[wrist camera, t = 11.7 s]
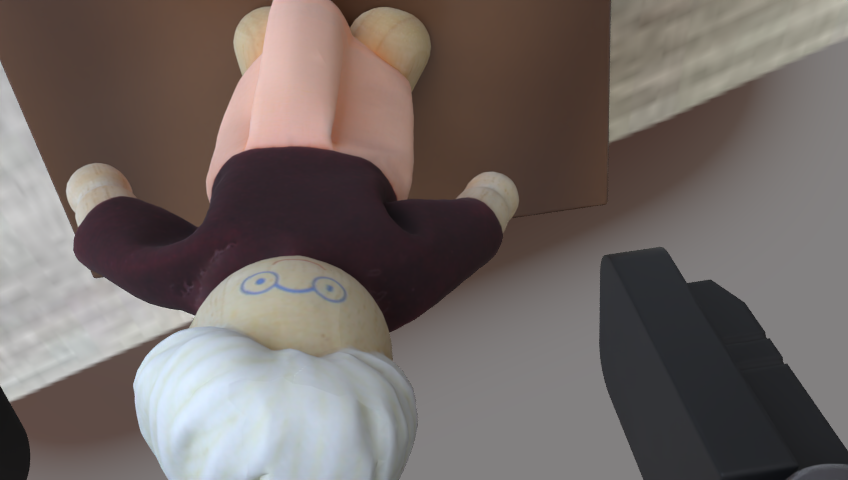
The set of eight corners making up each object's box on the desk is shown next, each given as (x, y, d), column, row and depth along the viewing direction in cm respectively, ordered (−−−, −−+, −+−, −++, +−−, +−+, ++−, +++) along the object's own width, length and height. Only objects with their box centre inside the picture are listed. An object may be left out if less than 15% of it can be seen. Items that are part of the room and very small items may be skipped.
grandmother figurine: (464, -46, 18) (651, 315, 7) (478, 113, 20) (636, 573, 9) (118, 3, 18) (-216, 444, 7) (169, 157, 20) (-28, 673, 9)
